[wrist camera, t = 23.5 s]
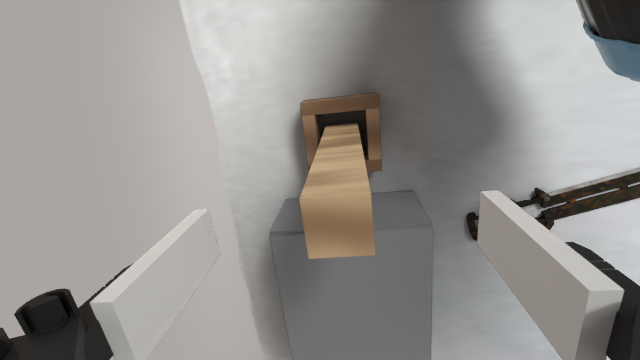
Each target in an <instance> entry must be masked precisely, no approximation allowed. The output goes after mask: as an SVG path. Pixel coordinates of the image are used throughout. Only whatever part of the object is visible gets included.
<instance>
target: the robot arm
mask: <svg viewBox="0 0 640 360" xmlns="http://www.w3.org/2000/svg"><path fill="white" fill-rule="evenodd" d="M576 2H577V4H578V7H579V9H580V12H581V14H582V17H583V19H584V25H583V27H584V30H585V32H586V34H587V35H588V36H589V37H590V38H592V39H593V40H594V41H595V44H596V46H597V48H598V50H599V52H600V54H601V56H602V58H603V60H604V62H605V63H606V65H607V66H608V67H609V68H610V69H611V70H612V71H613V72H614V73H616V74H618V75H621V76H624V77H627V78H630V79H631V80H634V81H638V82H640V0H576ZM477 245H478V246H479V247H480V249H481V250H482V251H483V253H484V254H485V255H486V257H487V258H488V260H489V261H490V262H491V264H492V265H493V266H494V268H495V269H496V270H497V272H498V273H499V274H500V276H501V277H502V278H503V280H504V281H505V283H506V284H507V285H508V287H509V288H510V289H511V291H512V292H513V293H514V295H515V296H516V297H517V299H518V300H519V301H520V303H521V304H522V306H523V307H524V308H525V310H526V311H527V312H528V314H529V315H530V316H531V318H532V319H533V320H534V322H535V323H536V324H537V326H538V327H539V329H540V330H541V331H542V333H543V334H544V335H545V337H546V338H547V339H548V341H549V342H550V343H551V345H552V346H553V347H554V349H555V350H556V352H557V353H558V354H559V356H560V357H561V358H562V360H606V357H607V356H608V357H609V358H610V359H611V360H640V286H639V285H637V284H636V283H635V282H633V281H632V280H631V279H629V278H628V277H627V276H625V275H624V274H622V273H621V272H620V271H618V270H615V268H614V267H613V266H612V265H610V264H609V263H608V262H606V261H605V262H604V260H603V259H602V258H601V257H599V256H598V255H597V254H595V253H594V252H593V251H591V250H590V249H587V248H585V247H583V246H581V245H578V244H576V243H574V242H563V241H562V240H561V239H559V238H558V237H557V236H556V235H554V234H553V233H552V232H551V231H549V230H548V229H547V228H546V227H544V226H543V225H542V224H541V223H539V222H538V221H537V220H535V219H534V218H533V217H532V216H530V215H529V214H528V213H527V212H525V211H524V210H523V209H522V208H520V207H519V206H518V205H517V204H515V203H514V202H513V201H512V200H510V199H509V198H508V197H507V196H505V195H504V194H503V193H501V192H500V191H499V190H495V191H481V194H480V209H479V223H478V237H477ZM219 257H220V251H219V247H218V243H217V239H216V235H215V232H214V227H213V223H212V220H211V216H210V212H209V209H197V210H194V211H193V212H191V214H189V215H188V216H187V217H186V218H185V219H184V220H183V221H182V222H180V223H179V224H178V225H177V226H176V227H175V228H173V229H172V230H171V231H170V232H169V233H168V234H167V235H165V236H164V237H163V238H162V239H161V240H160V241H159V242H158V243H156V244H155V245H154V246H153V247H152V248H151V249H150V250H148V251H147V252H146V253H145V254H144V255H143V256H142V257H141V258H139V259H138V260H137V261H136V262H135V263H133V264H132V265H130V266H128V267H126V268H125V269H123V270H122V271H121V272H120V273H119V274H117V275H116V276H115V277H114V279H112V280H110V281H109V282H108V283H107V284H106V286H105V287H102V288H101V289H100V290H99V291H98V292H97V293H95V294H94V295H93V296H92V297H91V298H90V299H89V300H87V301H86V302H85V303H84V304H83V305H82V306H80V307H79V308H78V307H77V305H76V303H75V301H74V299H73V297H72V295H71V292H70V290H68V289H56V290H53V291H50V292H46V293H44V294H42V295H39V296H37V297H35V298H33V299H32V300H30V301H28V302H26V303H25V304H24V305H23V306H21V307H20V308H19V309H18V310H17V311H16V313H15V314H14V315H15V317H16V318H17V320H18V322H19V324H20V325H21V327H22V329H23V331H24V333H25V335H24V336H19V337H15V338H11V339H9V338H8V336H7V334H6V333H5V331H4V329H3V328H0V360H109V359H110V358H111V357H112V356H113V357H114V359H115V360H147V358H148V357H149V355H150V354H151V352H152V351H153V350H154V348H155V347H156V345H157V344H158V343H159V341H160V340H161V338H162V337H163V336H164V334H165V333H166V331H167V330H168V329H169V327H170V326H171V324H172V323H173V321H174V320H175V319H176V317H177V316H178V314H179V313H180V312H181V310H182V309H183V307H184V306H185V305H186V303H187V302H188V300H189V299H190V298H191V296H192V295H193V293H194V292H195V290H196V289H197V287H198V286H199V285H200V283H201V282H202V280H203V279H204V278H205V276H206V275H207V274H208V272H209V271H210V269H211V268H212V266H213V265H214V264H215V262H216V261H217V259H218V258H219Z"/></svg>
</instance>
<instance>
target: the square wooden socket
mask: <svg viewBox="0 0 640 360" xmlns="http://www.w3.org/2000/svg"><path fill="white" fill-rule="evenodd" d="M300 106H301V114H302V122H303V130H304V137H305V145H306V153H307V161H308V169H309V171H310V168H311V165H312V163H313V160H314V157H315V154H316V152H317V149H318V146H319V143H320V141H321V137H320V128H319V119H318V115H319V114H328V113H338V112H348V111H358V110H365V127H366V143H367V152H363V154H364V159H365V164H366V169H367V172H373V171H382V157H381V135H380V113H379V95H378V94H377V93H368V94H359V95H350V96H340V97H331V98H322V99H313V100H304V101H303V102H301V103H300Z"/></svg>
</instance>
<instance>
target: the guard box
mask: <svg viewBox="0 0 640 360" xmlns="http://www.w3.org/2000/svg"><path fill="white" fill-rule="evenodd" d="M371 200H372V215H373V229H374V243H375V255H371V256H352V257H334V258H315V259H309V257H308V251H307V244H306V238H305V232H304V225H303V219H302V213H301V207H300V200H299V198H297V199H286V200H285V202H284V204H283V206H282V208H281V210H280V212H279V214H278V216H277V218H276V220H275V222H274V224H273V226H272V228H271V230H270V243H271V248H272V253H273V259H274V264H275V269H276V275H277V280H278V286H279V291H280V296H281V302H282V307H283V312H284V318H285V323H286V329H287V334H288V339H289V345H290V350H291V355H292V360H431V329H432V252H433V227H432V222H431V221H430V219H429V217H428V215H427V213H426V212H425V210H424V208H423V206H422V205H421V203H420V201H419V199H418V197H417V196H416V194H415V192H414V190H413V191H398V192H384V193H371Z"/></svg>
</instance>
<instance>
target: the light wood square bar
mask: <svg viewBox="0 0 640 360" xmlns="http://www.w3.org/2000/svg"><path fill="white" fill-rule="evenodd" d="M299 200H300V207H301V213H302V219H303V225H304V232H305V238H306V244H307V251H308V257H309V259H315V258H334V257H352V256H371V255H375V243H374V229H373V215H372V200H371V191H370V185H369V180H368V175H367V169H366V164H365V159H364V154H363V148H362V143H361V138H360V133H359V127H358V122H357V121H349V122H340V123H331V124H326V127H325V130H324V132H323V135H322V138H321V141H320V143H319V146H318V149H317V152H316V154H315V157H314V160H313V163H312V165H311V168H310V171H309V174H308V176H307V179H306V182H305V185H304V187H303V190H302V193H301V195H300V198H299Z"/></svg>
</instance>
